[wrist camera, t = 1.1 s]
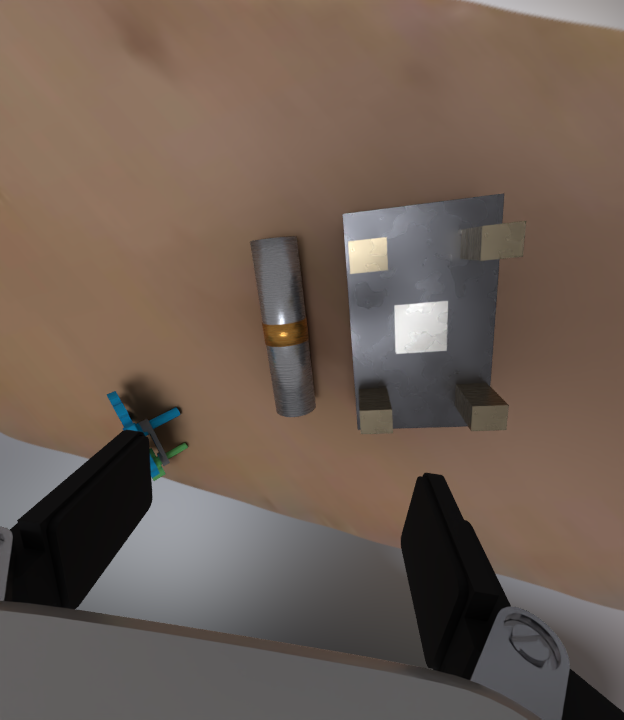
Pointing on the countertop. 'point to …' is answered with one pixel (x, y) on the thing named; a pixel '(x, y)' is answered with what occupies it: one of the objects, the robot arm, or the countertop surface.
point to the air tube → (284, 324)
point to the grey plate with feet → (427, 312)
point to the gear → (147, 429)
